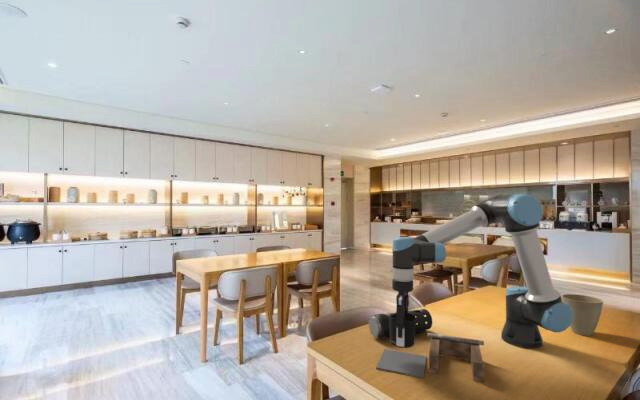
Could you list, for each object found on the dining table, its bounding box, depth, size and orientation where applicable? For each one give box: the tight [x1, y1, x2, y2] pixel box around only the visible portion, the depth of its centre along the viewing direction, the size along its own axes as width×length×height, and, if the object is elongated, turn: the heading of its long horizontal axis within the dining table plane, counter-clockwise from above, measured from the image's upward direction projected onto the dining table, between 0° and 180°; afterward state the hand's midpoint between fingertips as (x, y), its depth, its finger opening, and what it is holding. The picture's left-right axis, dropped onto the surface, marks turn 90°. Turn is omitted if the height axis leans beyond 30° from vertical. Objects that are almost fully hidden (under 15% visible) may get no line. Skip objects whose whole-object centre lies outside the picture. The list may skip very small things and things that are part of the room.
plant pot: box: [561, 293, 604, 337], centre depth 152 cm, size 15×15×16 cm
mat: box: [375, 348, 427, 379], centre depth 121 cm, size 16×16×1 cm
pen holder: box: [389, 312, 416, 349], centre depth 121 cm, size 9×9×10 cm
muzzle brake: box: [368, 308, 433, 339], centre depth 147 cm, size 10×28×10 cm, turn 111°
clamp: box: [426, 332, 485, 383], centre depth 120 cm, size 20×17×8 cm
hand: (402, 340), depth 121 cm, fingers closed on pen holder, 9 cm apart
